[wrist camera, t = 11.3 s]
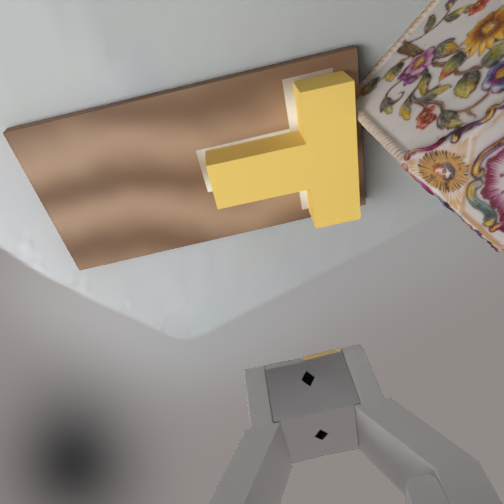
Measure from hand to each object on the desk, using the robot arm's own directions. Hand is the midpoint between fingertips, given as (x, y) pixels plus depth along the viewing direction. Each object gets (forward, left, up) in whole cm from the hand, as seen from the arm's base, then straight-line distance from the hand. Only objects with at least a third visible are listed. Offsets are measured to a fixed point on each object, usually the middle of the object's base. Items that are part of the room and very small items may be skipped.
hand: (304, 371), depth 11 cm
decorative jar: (+5, +17, -30) cm, 35 cm away
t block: (+7, +3, -28) cm, 29 cm away
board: (+7, -4, -29) cm, 30 cm away
